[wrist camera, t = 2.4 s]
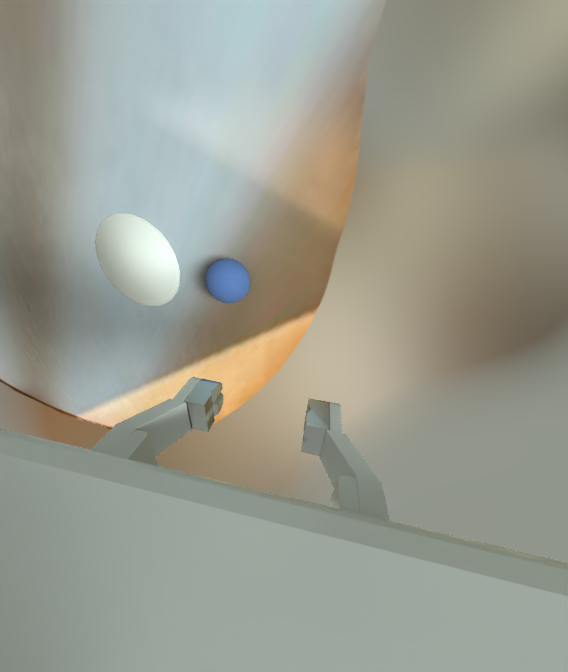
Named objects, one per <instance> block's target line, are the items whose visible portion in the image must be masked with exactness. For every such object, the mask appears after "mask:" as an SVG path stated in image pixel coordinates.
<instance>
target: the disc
mask: <svg viewBox="0 0 568 672" xmlns="http://www.w3.org/2000/svg"><path fill="white" fill-rule="evenodd" d="M95 243H96V252H97V256H98V260H99V262H100V265H101V267H102V269H103V271H104V273H105V274H106V276H107V278H108V279H109V280H110V282H111V283H112V284H113V285H114V286H115V287H116V288H117V289H118V290H119V291H120V292H121V293H122V294H123V295H125V296H126V297H127V298H129V299H131V300H132V301H134V302H137V303H139V304H142V305H146V306H160V305H163V304H166V303H167V302H169V301H170V300H172V299H173V298H174V296H175V295H176V293H177V291H178V288H179V285H180V268H179V264H178V260H177V257H176V255H175V253H174V251H173V249H172V247H171V245H170V244H169V242H168V241H167V239H166V238H165V237H164V236H163V235H162V233H161V232H160V231H159V230H158V229H157V228H156V227H154V226H153V225H152V224H150V223H149V222H147V221H146V220H144V219H142V218H140V217H138V216H135V215H131V214H121V213H119V214H114V215H111V216H109V217H107V218H106V219H105V220H104V221H103V222H102V223H101V224H100V226H99V228H98V230H97V234H96V241H95Z"/></svg>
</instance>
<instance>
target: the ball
mask: <svg viewBox="0 0 568 672" xmlns="http://www.w3.org/2000/svg"><path fill="white" fill-rule="evenodd" d="M206 285H207V288H208V290H209V292H210V293H211V295H212V296H213V297H214V298H216V299H217V300H219V301H221V302H224V303H234V302H237V301H240V300H241V299H242V298H244V297H245V296H246V294H247V293H248V291H249V288H250V277H249V274H248V271H247V270H246V268H245V267H244V266H243V265H242V264H241V263H239V262H238V261H236V260H233V259H221V260H218V261H216V262H215V263H213V264H212V265H211V266H210V268H209V269H208V271H207V274H206Z"/></svg>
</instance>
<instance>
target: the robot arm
mask: <svg viewBox="0 0 568 672" xmlns="http://www.w3.org/2000/svg"><path fill="white" fill-rule="evenodd" d="M222 389H223V388H222V383H220V382H215V381H211V380H206V379H200V378H195V377H193V378H191V379H190V380H189V381H188V382H187V383H186V384H185V385H184V387H183V388H182V389H181V390H180V391H179V393H178V394H177V395H176V396H175V397H174V398H173V399H169V400H167V401H165V402H162V403H160V404H158V405H156V406H154V407H152V408H150V409H148V410H146V411H143V412H141V413H139V414H137V415H135V416H133V417H131V418H129V419H127V420H124V421H122V422H120V423H118V424H116V425H115V426H114V427H113V428H112V429H111V430H110V431H109V432H108V433H107V434H106V435H105V436H104V437H103V438H102V439H101V440H100V441H99V442H98V443H97V444H96V445H95V446H94V447H93V448H92V449H91V450H88V449H84V448H80V447H76V446H71V445H67V444H63V443H59V442H55V441H50V440H46V439H42V438H38V437H34V436H29V435H25V434H21V433H17V432H13V431H8V430H4V429H0V672H568V563H567V562H563V561H559V560H555V559H550V558H546V557H542V556H537V555H533V554H529V553H525V552H520V551H516V550H512V549H508V548H504V547H499V546H495V545H491V544H487V543H482V542H478V541H474V540H470V539H466V538H461V537H457V536H453V535H449V534H444V533H440V532H436V531H431V530H427V529H423V528H419V527H414V526H410V525H406V524H402V523H397V522H393V521H390V520H389V515H388V510H387V505H386V500H385V496H384V491H383V486H382V482H381V481H380V479H379V478H378V477H377V475H376V474H375V473H374V471H373V470H372V469H371V467H370V466H369V464H368V463H367V462H366V460H365V459H364V458H363V456H362V455H361V453H360V452H359V451H358V449H357V448H356V447H355V445H354V444H353V443H352V441H351V440H350V438H349V437H348V436H347V434H345V433H343V430H342V417H341V405H340V404H338V403H332V402H326V401H321V400H314V399H309V400H308V405H307V411H306V417H305V424H304V435H303V441H302V452H306V453H309V454H314V455H318V456H320V459H321V461H322V463H323V465H324V467H325V470H326V472H327V474H328V476H329V478H330V480H331V482H332V485H333V487H334V491H333V494H332V497H331V499H330V502H329V504H328V506H325V505H321V504H317V503H313V502H309V501H304V500H300V499H296V498H292V497H288V496H283V495H279V494H274V493H271V492H267V491H262V490H258V489H254V488H250V487H245V486H241V485H237V484H233V483H228V482H224V481H220V480H215V479H211V478H207V477H203V476H199V475H194V474H190V473H186V472H182V471H177V470H172V469H169V468H164V467H160V466H159V464H158V461H157V459H156V456H157V455H158V454H160V453H161V452H162V451H164V450H165V449H167V448H168V447H169V446H171V445H172V444H173V443H175V442H176V441H177V440H179V439H180V438H181V437H183V436H184V435H185V434H187V433H188V432H189V431H191V430H192V429H195V430H200V431H206V432H209V430H210V428H211V426H212V425H213V423H214V421H215V419H214V416H215V415H217V414H219V412H220V410H221V408H222V404H223V394H222V393H221V390H222Z"/></svg>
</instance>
